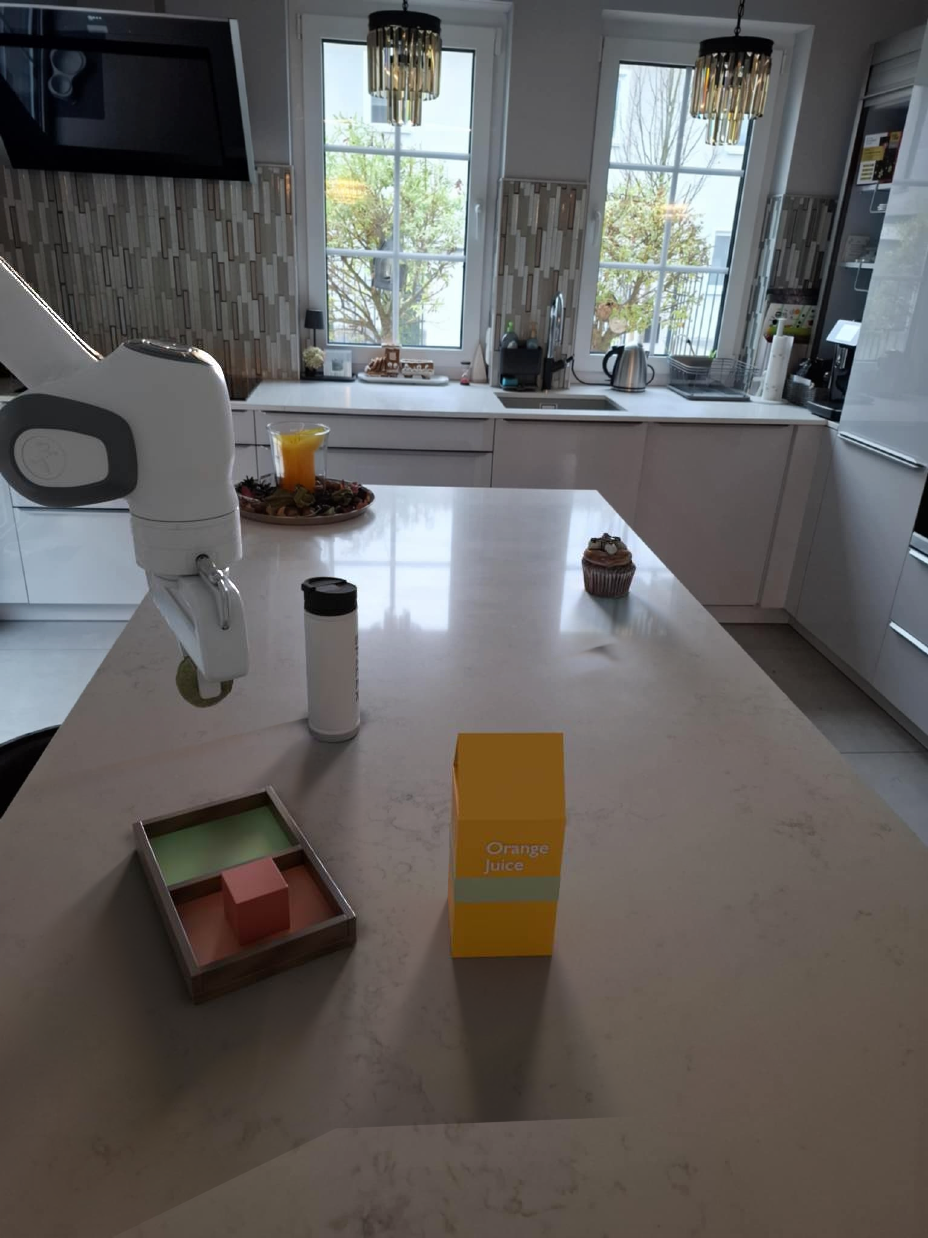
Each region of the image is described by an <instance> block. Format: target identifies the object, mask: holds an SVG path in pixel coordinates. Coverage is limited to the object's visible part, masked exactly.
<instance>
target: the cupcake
mask: <svg viewBox="0 0 928 1238" xmlns="http://www.w3.org/2000/svg"><path fill="white" fill-rule="evenodd" d="M582 554H583V556H582V558H581V560H580V561H581V568H582V569H581V570H582V575H583V586H584V590H585V592H587V593H588V594H590V595H593V596H596V597H599V598H606V599H615V598H622V597H625V596H627V595H628V594H629V591H630V588H631V585H632V582H633V578H634V577H635V573H636V572H637V571H636V570H637V565H636V564H635V563H634V562H633V553H632V551H631V550H630V549H628V546H627V545H626V543H625V542H624V541H622V538H621V537H620V536H617V535H616V536H612V535H610V534H609V533H608V532H604V533H603V535H601V536H600V537H591V538H590V540H588V543H587V547H586V548H585V549H584V551H583V553H582Z"/></svg>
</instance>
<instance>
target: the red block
mask: <svg viewBox="0 0 928 1238" xmlns="http://www.w3.org/2000/svg"><path fill="white" fill-rule="evenodd" d="M221 883H222V894H223V904H224V913H225V915H226V918H227V920H228V922H229V924H230V926H231V928H232V930H233V933H234V935H235V937H236V939H237V941H238V943H239V945H240V946H241V945H244V944H247V943H249V942H252V941H255V940H258V939H260V938H263V937H266V936H269V935H272V934H274V933H277V932H280V931H283V930H286V929H288V928H290V911H289V893H288V886H287V884H286V882H285V881H284V879H283V877H282V876H281V874H280V872H279V870H278V869H277V867H276V865H275V863H274V862H273V860H272V858H271V857H268V858H265V859H262V860H259V861H256V862H252V863H249V864H246V865H243V866H240V867H237V868H233V869H230V870H227V871H224V872H221Z"/></svg>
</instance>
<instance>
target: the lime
mask: <svg viewBox="0 0 928 1238" xmlns="http://www.w3.org/2000/svg"><path fill="white" fill-rule="evenodd" d="M196 675H197V667H196V665H195V663H194V662H193V660H192V659H191V657H190V656H189V655H188V656H187V657H186V658H184V659H183V660H182V659H181V661H180V663H179V665H178V667H177V670H176V674H175V685H176V688H177V691H178V692H179V694H180V696H181V697H182V698H183V700H185V702H187V703H188V704H190V705H192V706H193V707H196V708H199V709H206V708H211V707H214V706H216V705H218V704H219V703H221V702H222V701H223V700H224V699H226V697H227V696H228V695H229V694H231V692H232V689H233V685H234V680H235V679H232V680H228V681H222V682H220V686H221V693H220V695H219V696H217V697H212V698H208V699H204V698H202V697H201V696H200V694H199V692H198V690H197V687H196V686H197V684H196V677H195V676H196Z"/></svg>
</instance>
